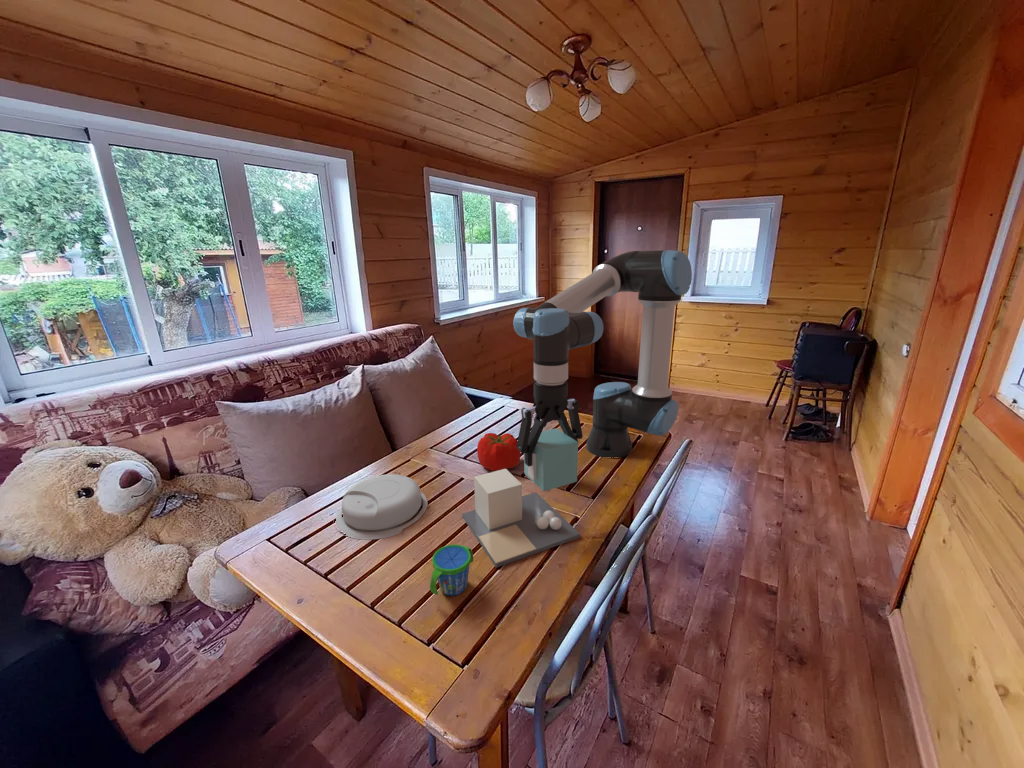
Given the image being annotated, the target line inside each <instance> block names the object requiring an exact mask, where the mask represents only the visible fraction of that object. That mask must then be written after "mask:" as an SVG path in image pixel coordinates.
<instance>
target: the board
mask: <svg viewBox="0 0 1024 768" xmlns="http://www.w3.org/2000/svg"><path fill="white" fill-rule="evenodd" d="M547 510H550V511H552V512H553V513H554V515H555V517H558V518H559V519H560V520H561V522H562V525H561V527H560V529H558V530H553V529H552V528H551V527H550V525H548V527H547V528H546V529H544V530H541V529H539V528H538V527H537V524H536V522H537V519H538V518H539V517H543V513H544V512H545V511H547ZM461 516H462V517H461V518H462V519H463V520H464V521H465V523H466V525H467V527H469V529H470V531H471V533H473V535H474V538H475V539H476V540H477V541H478V543H479V544H480V546H481V548H482V549H483V550H484V552H485V553H486V555H487V556H488V557H489V559H490V561H491V562H492V564H493V565H494V567H495V568H496V569H497V568H499V567H502V566H505V565H507V564H510V563H513V562H516V561H519V560H522V559H524V558H527V557H529V556H532V555H535V554H538V553H541V552H543V551H547V550H549V549H551V548H554V547H557V546H560V545H562V544H565V543H566V544H567V543H569V542H572V541H575V540H577V539H580V538H581V533H580V532H579V531H577V530H576V528H574V526H572V525H571V523H569V522H568V521H567V520H566V519H565V518H564V517H563V516H562V514H560V513H559V512H558V510H557V511H556V510H555V509H554V507H553V506H551V505H550V504H549V503H548V502H547V501H546V500H545V499H544V498H543V497H542V496H541V495H540V494H539V493H538V492H537V491H535V492H532V493H528V494H525V495H522V520H519V521H516V522H513V523H510V524H506V525H503V526H500V527H497V528H494V529H491V530H489V529H488V527H487V526H486V525H485V523H484V522H483V520H482V519H481V518H480V516H479V515H478V514H477V512H476V511H475V509H473V510H469V511H467V512H463V513H461Z"/></svg>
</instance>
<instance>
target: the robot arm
mask: <svg viewBox="0 0 1024 768" xmlns="http://www.w3.org/2000/svg"><path fill="white" fill-rule="evenodd" d="M692 270H693V269H692V264H691V261H690V258H689V257H688V255H687V254H686V253H685V252H684V251H681V250H671V249H666V250H665V249H664V250H662V249H661V250H632V251H626V252H624V253H620V254H618V255H615V256H613V257H611V258H609V259H607V260H605V261H603V262H602V263H600V264H599V265H597V266H595V267H594V269H593V271H592V273H591V274H588V275H587V276H586V277H583V279H581V280H578V281H577V282H576V283H574V284H572V285H571V286H569V287H567V288H566V289H565V290H563V291H560V292H559V293H558V294H555V295H554V296H553V297H551V298H549V299H548V300H546V301H545V302H543V303H541V304H539V305H537V306H535V307H533V308H532V307H530V306H529V307H523V308H520V309H518V310H517V311H516V313H515V315H514V317H513V323H512V325H513V329H514V331H515V333H516V335H518V336H519V337H521V338H525V339H527V340H532V343H533V347H532V348H533V349H532V351H533V379H534V381H533V399H534V401H533V404H532V406H531V407H528V408H526V407H521V409H520V412H521V422H520V426H519V427H520V428H519V431H518V437H517V446H516V448H517V449H518V450H519V451H520V454H524V453H525V464H526V465H527V466H528V475H529V476H530V477H531V478H532V479H533V480H536V453H535V452H534V449H535V447H536V444H537V442H538V440H539V437H540V435H541V433H542V431H544V428H546V426H547V424H548V423H550V422H553V421H557V422H558V424H559V426H560V428H561V431H562V432H563V433H564V434H566V435H568V436H569V437H571V438H572V439H574V440H576V441H577V442H578V443H579V440H581V439H583V438H584V436H583V429H582V425H581V419H580V415H579V414H580V413H579V404H580V402H579V401H578V400H576V399H575V398H573V397H570V398H569V399H567V398H568V396H569V394H568V393H569V392H568V391H569V382H568V381H567V380H568V379H569V351H570V350H573V349H576V348H577V349H578V348H580V347H584V346H586V347H587V346H589V345H591V344H593V343H596V342H598V340H599V339H601V338H602V336H603V333H604V322H603V319H602V318H601V317H600V315H599V314H598V313H596V312H593V311H586V310H587V309H588V308H591V307H592V306H593V305H595V304H596V303H598V302H599V301H601V300H603V298H605V297H612V296H614V295H616V294H618V293H621V292H622V293H623V292H624V293H626V292H627V293H628V292H629V293H631V292H632V293H638V294H637V295H638V296H637V297H638V298H637V300H638V302H640V303H641V305H642V318H641V333H640V344H639V345H640V346H639V347H640V348H639V357H638V358H639V359H638V375H637V384H636V385H634V386H633V387H631V384H630V383H628V382H624V381H612V382H605V383H601V384H598V385H597V386H596V387H595V388H594V392H593V397H592V400H593V403H592V404H593V406H592V427H591V430H590V432H589V436H588V438H587V440H586V445H585V446H586V450H587V451H588V452H589V453H590V454H592V455H594V456H596V457H599V456H600V457H599V458H603V457H611V458H610V459H615V458H614V457H621V458H624V456H625V457H627V456H629V455H630V454H631V453H632V452H633V451H632V450H633V443H632V441H631V436H630V433H629V428H630V429H633V430H637V431H639V432H642V433H646V434H647V435H654V436H659V437H660V436H661V437H662V436H665V435H666V434H667V433H668V432H669V431H670V430H671V429H672V427H673V425H674V424H675V422H676V419H677V416H678V413H679V403H678V401H677V400H675V399H672V396H673V390H672V389H670V388H669V386H668V382H669V373H670V372H669V371H670V361H671V350H672V349H671V348H672V337H673V329H674V328H673V327H674V320H675V319H674V317H675V307H676V305H678V304H679V303H680V302H681V301H682V296H683V295H686V294H687V293H688V292H689V290H690V288H691V287H690V286H691V284H692V278H693V272H692ZM566 409H567V411H568V412H567V414H568V418H569V422H568V418H567V416H566V414H565V411H566ZM534 414H535V417H534ZM532 422H533V423H532ZM569 423H570V424H569ZM630 452H631V453H630ZM628 454H629V455H628ZM626 455H627V456H626ZM612 457H613V458H612Z"/></svg>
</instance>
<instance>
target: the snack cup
mask: <svg viewBox="0 0 1024 768" xmlns="http://www.w3.org/2000/svg"><path fill="white" fill-rule="evenodd" d="M431 561H432V567H433V570H432V574H431V577H430V582H429V583H430V584H429V590H430V592H431V593H432V594H433V595H436V596H437V595H439V592H438V589H437V582H438V585H439V588H440V591H441V592H442V594H444V595H445V596H446V595H447V596H459V595H460V594H461V593H463V592H464V591H465V589H466V588H467V586H468V581H469V574H470V573H469V572H470V565H471V563H473V562H474V554H473V550H472V549H471V548H470V547H468V546H465V545H461V544H448V545H445V546H442V547H440V548H439V549H437V550H436V551H435V552H434V553H433V555H432V557H431Z"/></svg>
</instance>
